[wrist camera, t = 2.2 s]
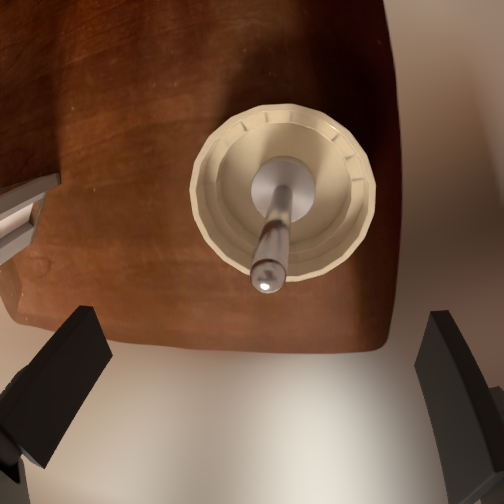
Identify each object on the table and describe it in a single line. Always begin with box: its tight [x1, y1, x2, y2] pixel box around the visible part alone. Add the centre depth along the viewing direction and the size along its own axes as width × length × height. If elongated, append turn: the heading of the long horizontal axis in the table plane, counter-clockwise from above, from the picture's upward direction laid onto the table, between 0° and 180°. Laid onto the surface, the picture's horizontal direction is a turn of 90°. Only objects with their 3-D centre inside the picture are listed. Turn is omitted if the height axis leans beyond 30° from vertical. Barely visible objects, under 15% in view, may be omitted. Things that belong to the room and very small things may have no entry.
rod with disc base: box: [250, 156, 316, 293], centre depth 23 cm, size 6×6×19 cm
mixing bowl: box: [189, 103, 376, 281], centre depth 30 cm, size 16×16×6 cm
